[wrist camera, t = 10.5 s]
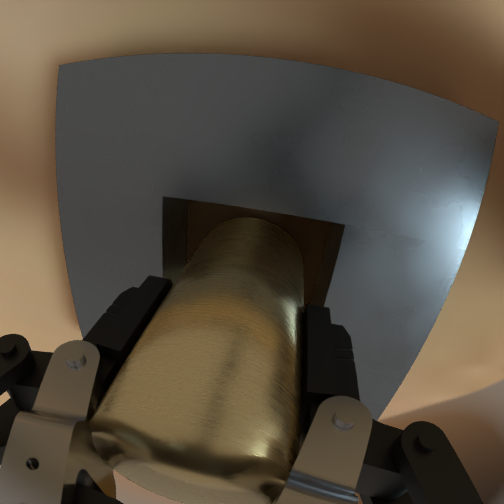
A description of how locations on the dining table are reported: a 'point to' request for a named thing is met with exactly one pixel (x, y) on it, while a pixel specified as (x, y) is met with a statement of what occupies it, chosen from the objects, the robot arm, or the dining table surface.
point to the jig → (273, 184)
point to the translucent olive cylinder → (215, 375)
